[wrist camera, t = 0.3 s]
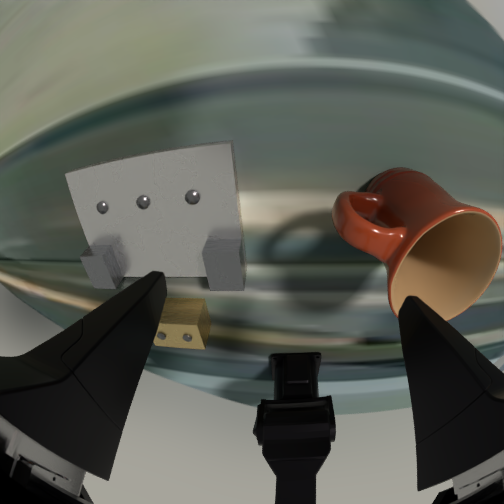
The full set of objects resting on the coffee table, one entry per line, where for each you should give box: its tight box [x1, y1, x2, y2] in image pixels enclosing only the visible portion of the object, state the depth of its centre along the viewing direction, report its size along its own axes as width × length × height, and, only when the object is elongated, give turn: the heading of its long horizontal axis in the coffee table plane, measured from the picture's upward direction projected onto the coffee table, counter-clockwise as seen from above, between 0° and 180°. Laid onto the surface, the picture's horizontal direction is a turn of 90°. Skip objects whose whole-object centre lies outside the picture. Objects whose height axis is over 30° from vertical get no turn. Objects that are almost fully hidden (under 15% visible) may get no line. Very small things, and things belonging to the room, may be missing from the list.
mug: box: [332, 167, 502, 321], centre depth 17 cm, size 12×9×10 cm
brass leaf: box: [153, 298, 211, 349], centre depth 29 cm, size 4×6×4 cm, turn 95°
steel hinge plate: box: [65, 140, 247, 291], centre depth 22 cm, size 12×16×3 cm
